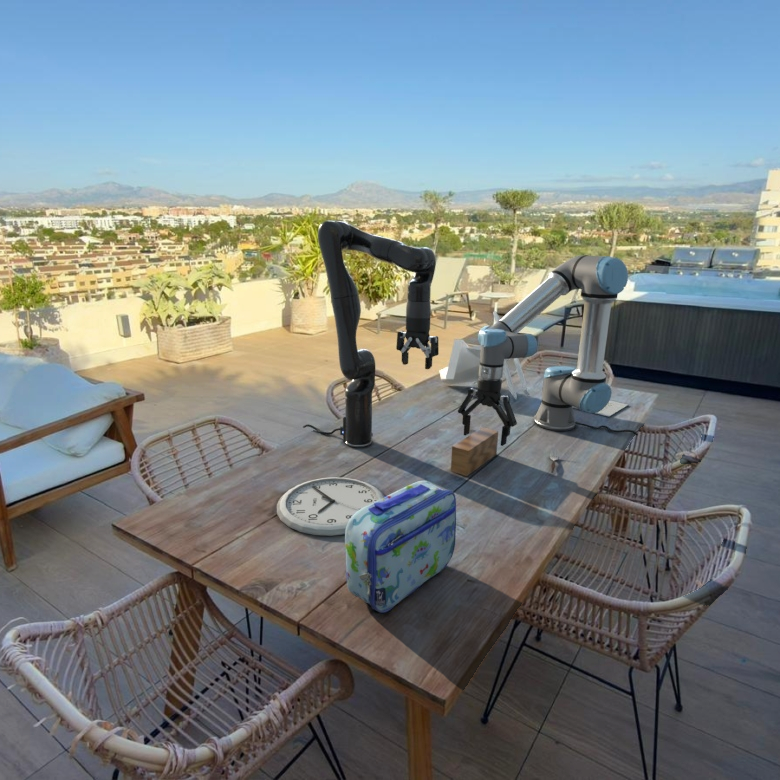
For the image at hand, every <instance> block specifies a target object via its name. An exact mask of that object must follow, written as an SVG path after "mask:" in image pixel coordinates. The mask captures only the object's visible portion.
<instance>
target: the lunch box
mask: <svg viewBox="0 0 780 780" xmlns="http://www.w3.org/2000/svg"><path fill="white" fill-rule="evenodd" d="M456 531H457V499H456V495H455V493H454V492H453V490H450V489H442V488H440V487H439V486H437V485H435V484H433V483H432V482H430V481H428V480H418V481H416V482H413V483H410V484H409V485H406V486H405V487H402V488H400V489H398V490H396V491H394V492H392V493H390V494H388V495H385V497H384V498H382V499H380V500H378V501H376V502H374V503H372V504H370V505H368V506H366V507H364V508H362V509H360V510H358V511H357V512H355V513H354V514H353V515H352V517H351V518H350V520H349V522H348V524H347V527H346V531H345V534H344V552H345V577H346V578H345V580H346V586H347V589H348V592H349V593H350V594H352V595H354V596H356V597H357V598H359V599H361V600H363V602H365V603H367V604H368V605H370V607H371V608H372V609H373V610H375V611H376V612H378V613H380V614H382V613H383V614H385V613H387V612H389V611H391V609H393V608H394V607H395V606H396V605H397V604H400V602H401V601H402V600H404V599H406V597H409V596H410V595H411V594H412V593H414V592H415V591H416V590H417V589H418V588H420V587H421V586H422V585H423V584H424V583H425V582H427V581H428V580H430V579H432V578H433V577H434V576H436V575H437V574H439V573H441V572H442V571H443V570H445V568H446V567H447V566H448V564H449V563H450V561H451V560H452V557H453V554H454V551H455V548H456V547H455V546H456Z"/></svg>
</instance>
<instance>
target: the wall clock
mask: <svg viewBox="0 0 780 780" xmlns="http://www.w3.org/2000/svg"><path fill="white" fill-rule="evenodd" d="M384 497H386V495H385V494H384V493H383V492H382V491H381V490H380V489H379V488H377V487H376V486H374V485H372V484H371V483H369V482H365V481H362V480H359V479H355V478H349V477H338V476H337V477H335V476H333V477H332V476H331V477H322V478H317V479H312V480H307V481H305V482H302V483H299V484H297V485H295V486H293V487H292V488H290V489H288V490H287V491H286V492H285V493H284V494H283V495H281V496H280V498H279V499H278V502H277V503H276V515H277V517H278V518H279V520H280V521H281V522H282V523H283V524H285V525H286V526H287V527H288V528H290V529H293V530H295V531H297V532H299V533H303V534H308V535H312V536H327V537H328V536H329V537H331V536H332V537H333V536H342V535H345V531H346V527H347V524H348V522H349V520H350V518H351V517H352V515H353V514H354V513H355V512H357V511H358V510H360V509H362V508H364V507H366V506H368V505H370V504H372V503H374V502H376V501H378V500H380V499H382V498H384Z"/></svg>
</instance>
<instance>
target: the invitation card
mask: <svg viewBox="0 0 780 780" xmlns="http://www.w3.org/2000/svg"><path fill="white" fill-rule="evenodd" d="M628 406H629V404H627V403H623V402H618V401H614V400H611V399H610V400H609V402H608V404H607V405H606V406H605V407H604V408H603V409H602V410H601V411H599V412H597V413H595V414H596V415H600V416H604V417H608V418H609V417H611V416H613V415H614V414H616V413H617V412H619V411H621V410H623V409H624V408H626V407H628ZM573 409H575V410H579V409H578V408H575V407H573Z"/></svg>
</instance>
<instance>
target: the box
mask: <svg viewBox="0 0 780 780" xmlns="http://www.w3.org/2000/svg"><path fill="white" fill-rule="evenodd" d="M498 440H499V431H498V430H495V429H490V428H487V427H481V428H479V429H478V430H476V431H475V432H473V433H471V434H470V435H468V436H466V437H465V438H463V439H461V440H460V441H458V442H456V443H454V444H453V445H452V446H451V456H450V457H451V459H450V472H452V473H455V474H458V475H461V476H464V477H468V476H469V475H471V474H472V473H473V472H475V471H476V470H477V469H479V468H480V467H482V466H483V465H485V464H486V463H487V462H488V461H490V460H491V459H493V458H494V457H495V456H496V455H497V450H498Z"/></svg>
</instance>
